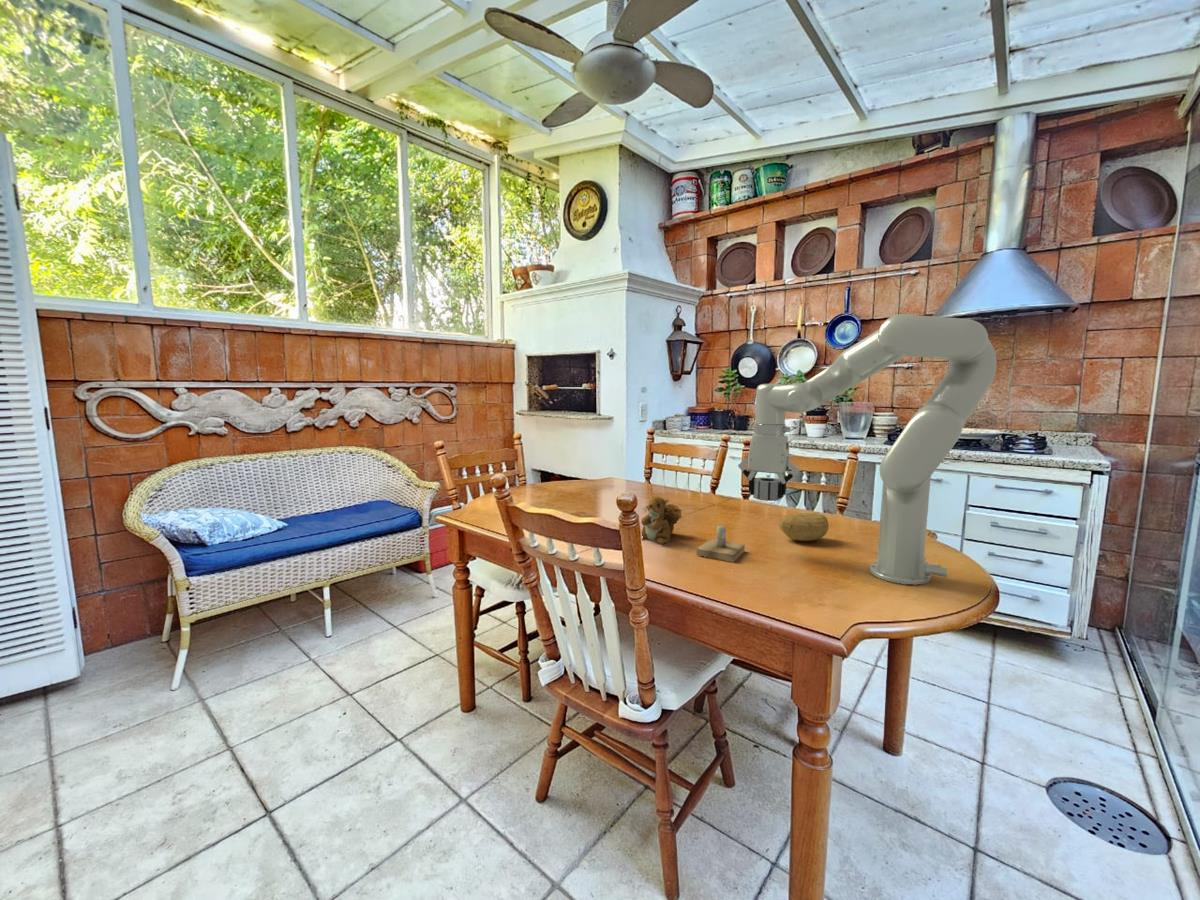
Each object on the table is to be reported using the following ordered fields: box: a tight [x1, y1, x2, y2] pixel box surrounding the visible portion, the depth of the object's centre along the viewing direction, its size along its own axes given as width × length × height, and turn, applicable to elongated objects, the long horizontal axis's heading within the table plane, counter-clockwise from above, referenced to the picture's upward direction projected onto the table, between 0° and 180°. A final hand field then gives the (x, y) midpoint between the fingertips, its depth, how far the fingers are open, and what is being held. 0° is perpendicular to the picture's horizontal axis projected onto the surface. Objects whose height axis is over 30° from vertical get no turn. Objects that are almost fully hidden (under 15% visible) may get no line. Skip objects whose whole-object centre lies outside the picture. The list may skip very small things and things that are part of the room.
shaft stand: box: [696, 525, 746, 563], centre depth 139 cm, size 10×10×8 cm
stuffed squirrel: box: [641, 495, 683, 545], centre depth 154 cm, size 10×14×13 cm
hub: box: [752, 476, 782, 502], centre depth 139 cm, size 7×7×5 cm
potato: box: [778, 512, 830, 542], centre depth 150 cm, size 10×14×8 cm
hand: (766, 495), depth 139 cm, fingers closed on hub, 6 cm apart
